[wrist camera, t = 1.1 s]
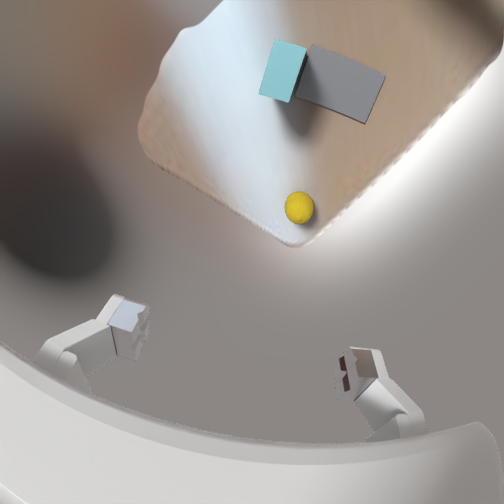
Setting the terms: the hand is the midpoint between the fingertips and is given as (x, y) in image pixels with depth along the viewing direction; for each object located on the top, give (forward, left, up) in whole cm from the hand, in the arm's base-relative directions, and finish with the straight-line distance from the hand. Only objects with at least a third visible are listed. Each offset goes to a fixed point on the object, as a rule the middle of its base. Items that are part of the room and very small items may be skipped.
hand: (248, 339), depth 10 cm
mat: (-1, +9, -43) cm, 44 cm away
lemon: (+20, -4, -43) cm, 47 cm away
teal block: (-6, +1, -43) cm, 43 cm away
